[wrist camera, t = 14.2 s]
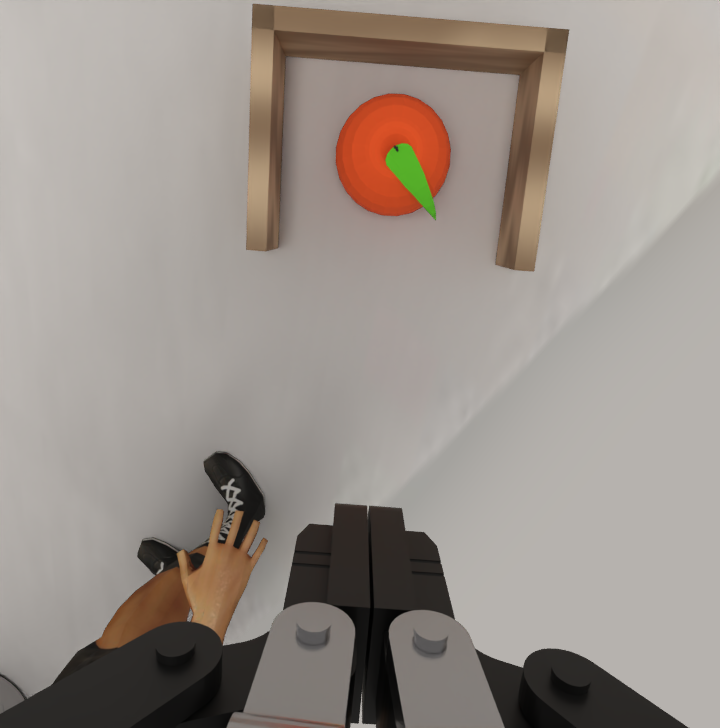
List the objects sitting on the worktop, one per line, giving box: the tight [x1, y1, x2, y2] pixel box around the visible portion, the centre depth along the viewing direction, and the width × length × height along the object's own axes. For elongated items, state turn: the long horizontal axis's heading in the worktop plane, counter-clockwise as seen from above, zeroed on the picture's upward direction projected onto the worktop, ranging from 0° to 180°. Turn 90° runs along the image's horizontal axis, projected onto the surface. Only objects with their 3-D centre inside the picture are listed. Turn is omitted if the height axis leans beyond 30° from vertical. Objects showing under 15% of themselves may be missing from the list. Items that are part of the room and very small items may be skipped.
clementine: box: [336, 94, 451, 220], centre depth 34 cm, size 8×7×7 cm
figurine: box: [52, 452, 268, 685], centre depth 29 cm, size 24×6×30 cm, turn 142°
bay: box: [246, 4, 569, 271], centre depth 35 cm, size 13×17×5 cm
